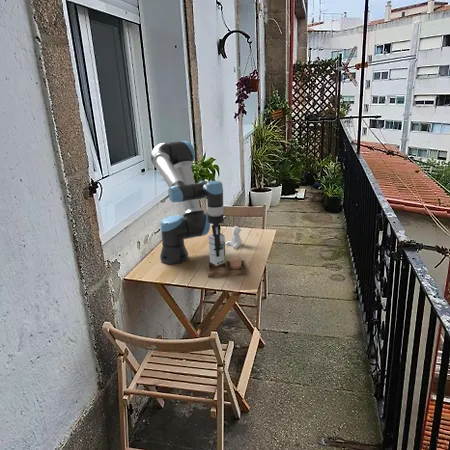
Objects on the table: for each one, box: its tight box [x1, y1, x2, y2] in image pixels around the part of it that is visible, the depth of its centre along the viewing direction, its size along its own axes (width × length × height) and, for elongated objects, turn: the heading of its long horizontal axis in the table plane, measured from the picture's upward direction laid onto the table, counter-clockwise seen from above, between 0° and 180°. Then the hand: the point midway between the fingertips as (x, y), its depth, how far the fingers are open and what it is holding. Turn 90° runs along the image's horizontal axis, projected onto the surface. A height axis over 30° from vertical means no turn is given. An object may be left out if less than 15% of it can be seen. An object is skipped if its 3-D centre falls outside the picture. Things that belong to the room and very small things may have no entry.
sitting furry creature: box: [225, 225, 243, 250], centre depth 220 cm, size 10×9×12 cm
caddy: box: [206, 259, 248, 278], centre depth 188 cm, size 19×12×4 cm, turn 95°
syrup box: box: [208, 232, 227, 266], centre depth 184 cm, size 6×6×14 cm
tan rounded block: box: [229, 256, 242, 271], centre depth 187 cm, size 6×6×6 cm
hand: (217, 258), depth 185 cm, fingers closed on syrup box, 8 cm apart
